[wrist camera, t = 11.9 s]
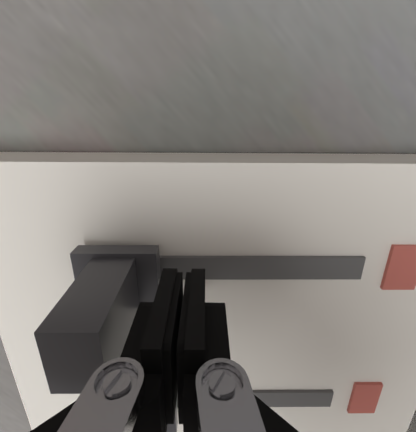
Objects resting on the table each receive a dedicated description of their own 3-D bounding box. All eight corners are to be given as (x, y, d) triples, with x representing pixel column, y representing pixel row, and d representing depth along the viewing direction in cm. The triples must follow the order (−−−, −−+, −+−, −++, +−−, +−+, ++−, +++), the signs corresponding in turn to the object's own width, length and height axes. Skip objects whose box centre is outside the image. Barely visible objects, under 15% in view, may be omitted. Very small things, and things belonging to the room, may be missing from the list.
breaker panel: (453, 154, 14) (518, 165, 11) (351, 474, 24) (372, 525, 21) (-6, 151, 14) (-63, 162, 11) (80, 476, 24) (62, 528, 21)
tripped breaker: (159, 245, 12) (130, 327, 8) (162, 297, 13) (138, 397, 9) (77, 245, 12) (-1, 327, 8) (87, 297, 13) (22, 398, 9)
